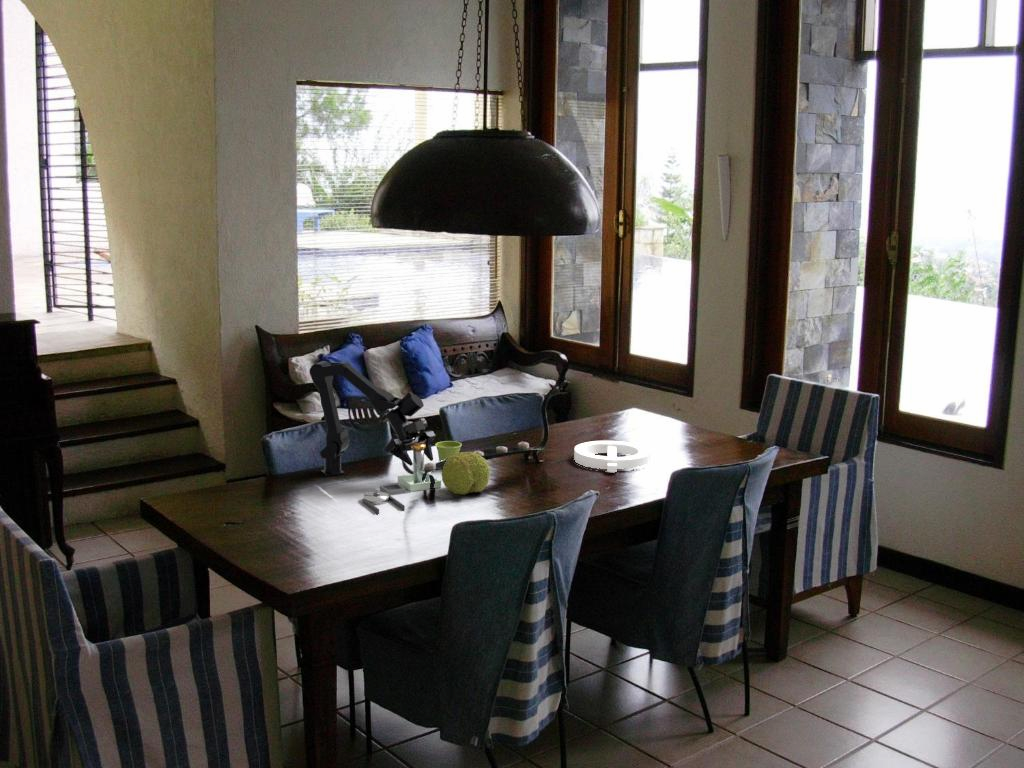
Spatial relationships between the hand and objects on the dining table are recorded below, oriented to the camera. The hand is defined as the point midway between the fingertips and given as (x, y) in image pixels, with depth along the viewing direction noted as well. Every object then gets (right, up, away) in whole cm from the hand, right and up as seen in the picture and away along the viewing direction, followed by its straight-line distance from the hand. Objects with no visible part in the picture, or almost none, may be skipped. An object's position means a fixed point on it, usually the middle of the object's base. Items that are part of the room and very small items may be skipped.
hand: (422, 462), depth 378 cm
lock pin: (-1, -8, +3) cm, 8 cm away
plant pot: (+7, -4, +27) cm, 29 cm away
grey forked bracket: (-12, -13, -19) cm, 25 cm away
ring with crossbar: (+67, -3, +41) cm, 79 cm away
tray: (-1, -8, +3) cm, 9 cm away
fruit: (+15, -10, -2) cm, 18 cm away
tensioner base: (-9, -10, -4) cm, 14 cm away
